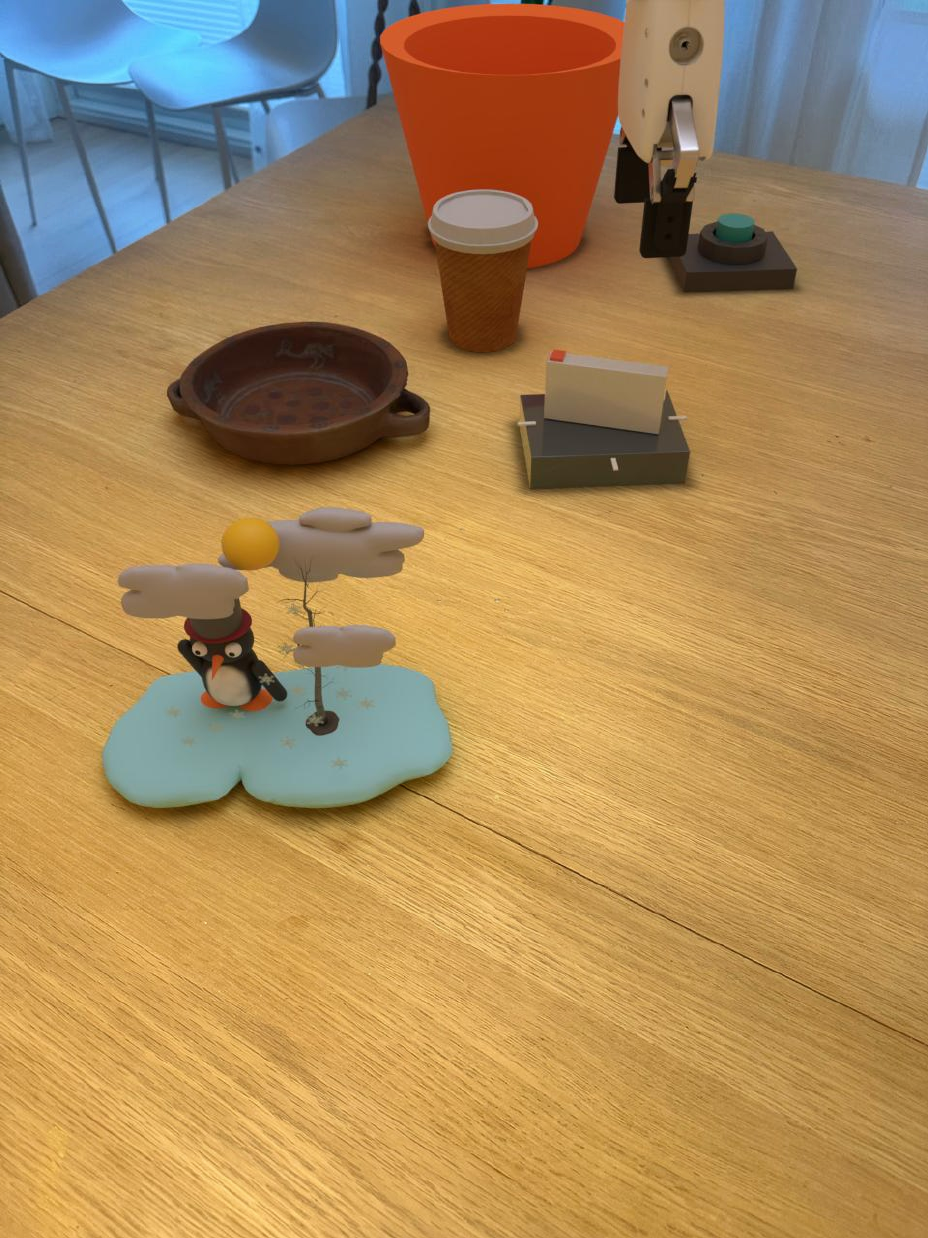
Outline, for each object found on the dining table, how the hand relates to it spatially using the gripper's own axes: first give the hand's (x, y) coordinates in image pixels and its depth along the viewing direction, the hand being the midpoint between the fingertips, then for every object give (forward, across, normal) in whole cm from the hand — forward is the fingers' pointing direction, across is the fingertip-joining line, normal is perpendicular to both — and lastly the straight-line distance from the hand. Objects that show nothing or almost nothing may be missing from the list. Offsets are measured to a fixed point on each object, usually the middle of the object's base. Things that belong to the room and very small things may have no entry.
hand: (647, 227), depth 77 cm
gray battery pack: (+13, -5, +3) cm, 14 cm away
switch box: (+16, +26, -15) cm, 34 cm away
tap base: (+16, -5, +3) cm, 17 cm away
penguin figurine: (+16, -34, +27) cm, 46 cm away
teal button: (+13, +26, -15) cm, 33 cm away
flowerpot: (+16, +37, +6) cm, 41 cm away
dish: (+16, +1, +27) cm, 32 cm away
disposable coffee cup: (+16, +15, +11) cm, 25 cm away
